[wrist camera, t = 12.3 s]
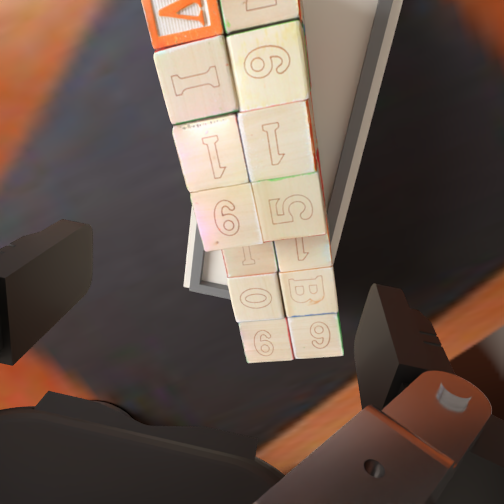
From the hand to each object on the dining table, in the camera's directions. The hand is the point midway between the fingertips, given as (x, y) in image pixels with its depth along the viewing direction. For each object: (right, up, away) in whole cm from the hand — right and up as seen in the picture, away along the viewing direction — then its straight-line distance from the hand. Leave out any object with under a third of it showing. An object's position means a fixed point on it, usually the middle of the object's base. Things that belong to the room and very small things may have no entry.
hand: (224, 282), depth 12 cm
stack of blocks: (+3, +8, +19) cm, 21 cm away
